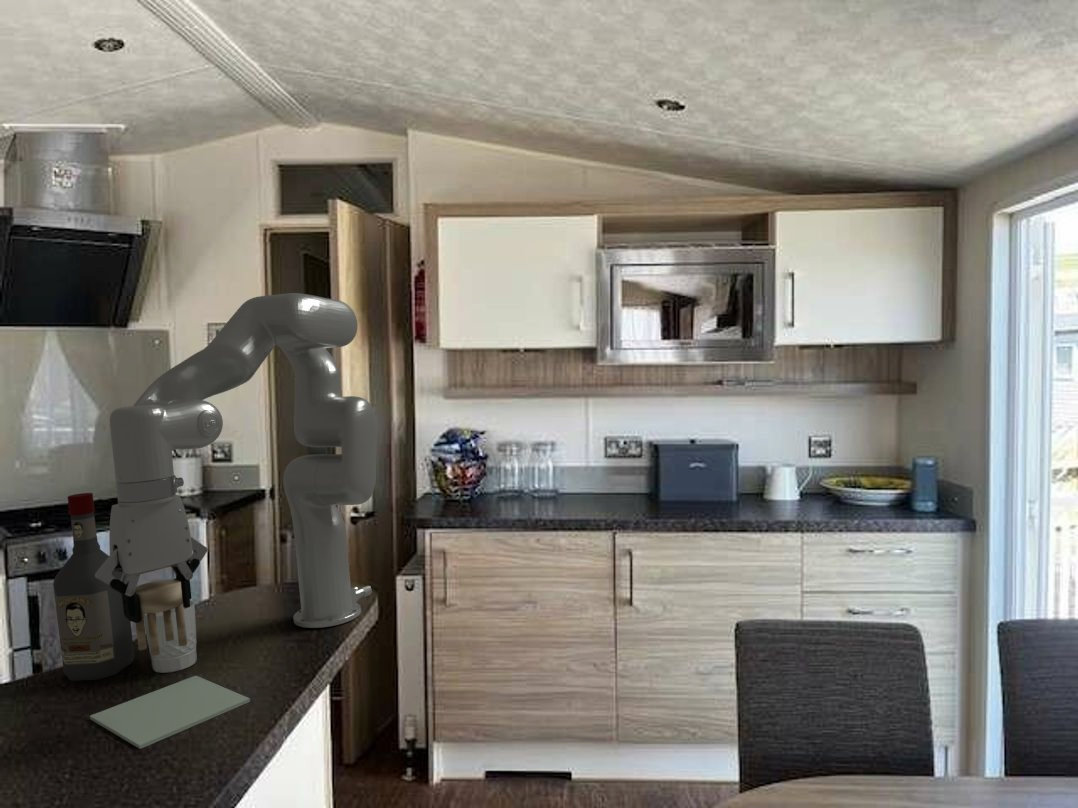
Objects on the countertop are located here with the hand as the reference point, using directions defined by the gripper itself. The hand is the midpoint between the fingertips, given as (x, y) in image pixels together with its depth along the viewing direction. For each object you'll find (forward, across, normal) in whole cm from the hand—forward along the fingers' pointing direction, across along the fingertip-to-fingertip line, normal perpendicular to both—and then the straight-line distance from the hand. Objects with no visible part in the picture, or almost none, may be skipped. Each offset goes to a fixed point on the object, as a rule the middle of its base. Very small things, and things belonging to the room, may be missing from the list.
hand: (159, 612), depth 115 cm
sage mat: (+15, 0, 0) cm, 15 cm away
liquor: (+15, -1, -27) cm, 31 cm away
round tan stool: (+5, 0, 0) cm, 5 cm away
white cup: (+15, -9, -17) cm, 25 cm away
